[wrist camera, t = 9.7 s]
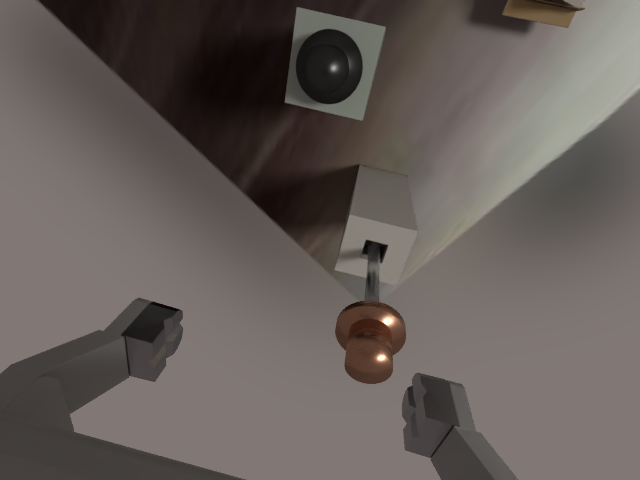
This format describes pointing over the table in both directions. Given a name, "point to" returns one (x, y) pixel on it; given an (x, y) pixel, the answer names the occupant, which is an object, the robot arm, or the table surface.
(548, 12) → the architectural model
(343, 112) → the block
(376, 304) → the terracotta plunger
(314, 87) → the black plunger
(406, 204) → the block
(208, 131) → the table surface
